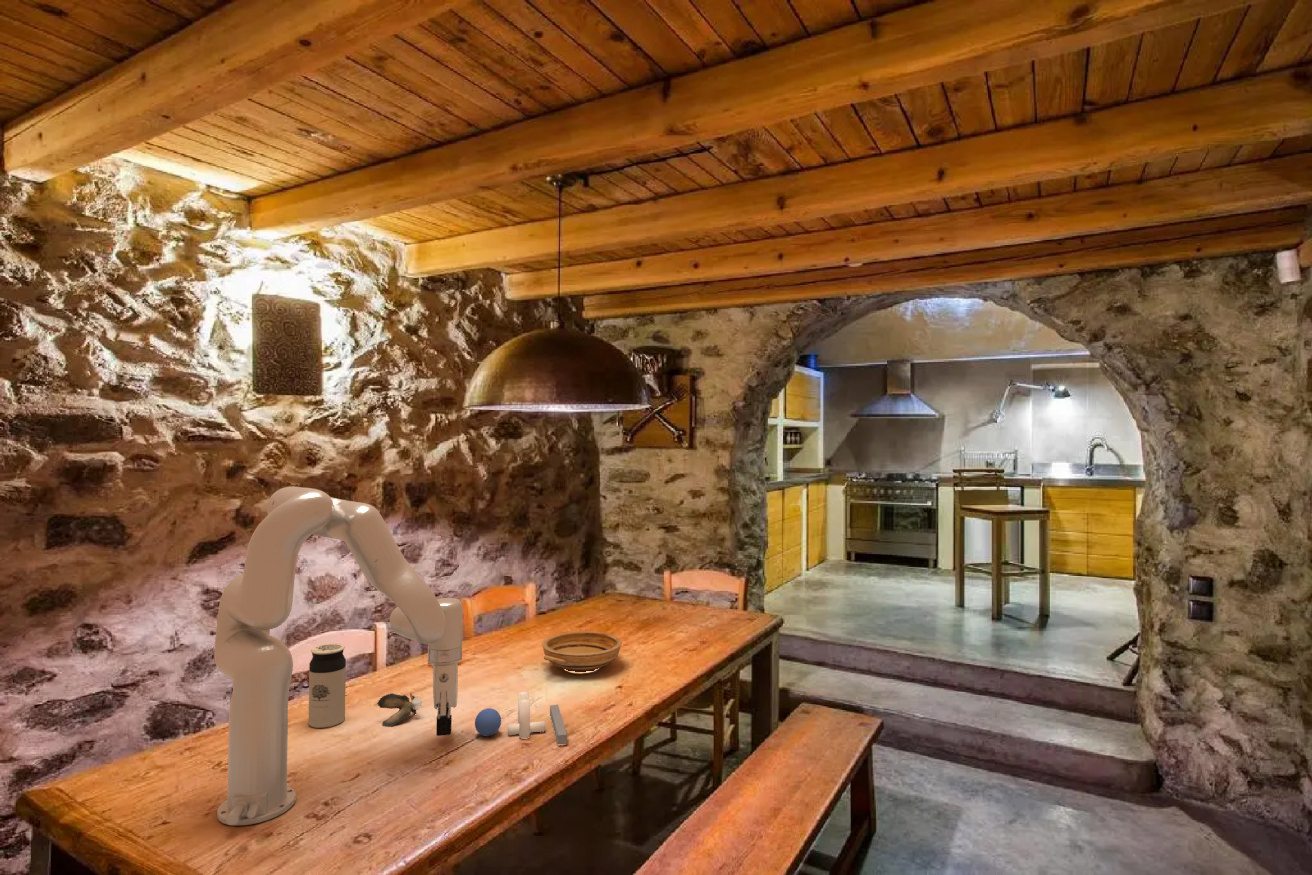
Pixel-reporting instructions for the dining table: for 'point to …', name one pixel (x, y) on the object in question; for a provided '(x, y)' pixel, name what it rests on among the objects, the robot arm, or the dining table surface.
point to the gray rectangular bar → (558, 724)
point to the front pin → (534, 727)
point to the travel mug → (327, 686)
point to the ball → (488, 722)
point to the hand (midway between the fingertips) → (443, 733)
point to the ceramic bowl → (581, 650)
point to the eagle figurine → (399, 707)
